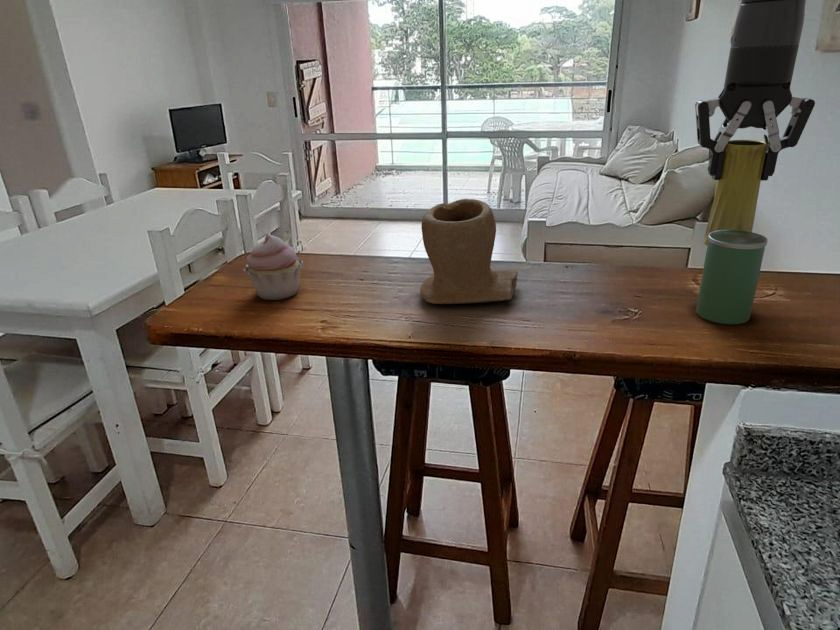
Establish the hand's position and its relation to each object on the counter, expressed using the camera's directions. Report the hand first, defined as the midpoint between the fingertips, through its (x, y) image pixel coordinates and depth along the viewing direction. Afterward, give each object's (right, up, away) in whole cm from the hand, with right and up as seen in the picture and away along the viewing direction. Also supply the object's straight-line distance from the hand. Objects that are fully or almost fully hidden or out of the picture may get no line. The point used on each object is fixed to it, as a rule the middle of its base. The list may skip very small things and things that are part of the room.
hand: (739, 178), depth 79 cm
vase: (0, -9, +4) cm, 10 cm away
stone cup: (-36, -17, +8) cm, 41 cm away
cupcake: (-67, -15, +14) cm, 70 cm away
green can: (-2, -19, 0) cm, 19 cm away
